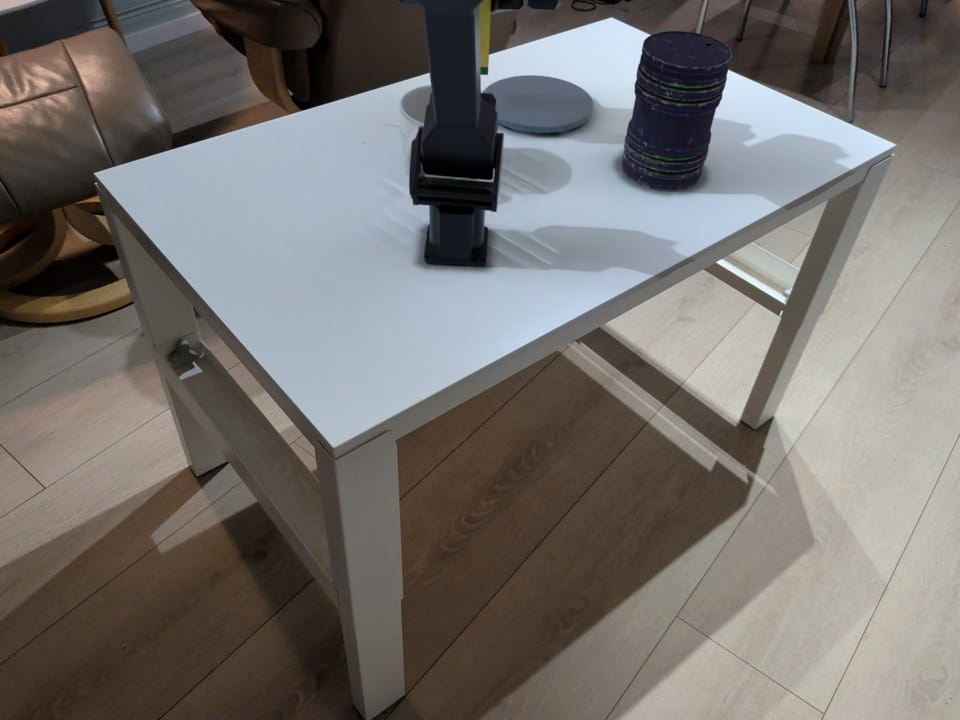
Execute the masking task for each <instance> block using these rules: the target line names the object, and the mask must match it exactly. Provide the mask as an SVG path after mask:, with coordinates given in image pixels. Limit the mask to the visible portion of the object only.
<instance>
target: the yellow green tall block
mask: <svg viewBox="0 0 960 720" xmlns="http://www.w3.org/2000/svg"><path fill="white" fill-rule="evenodd" d="M491 15H492V14H491V0H484V1H483V2H482V3H481V4H480V5H479V17H480V72H481V76H488V75H489V63H490V62H489V60H490V41H491V40H490V36H491Z"/></svg>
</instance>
